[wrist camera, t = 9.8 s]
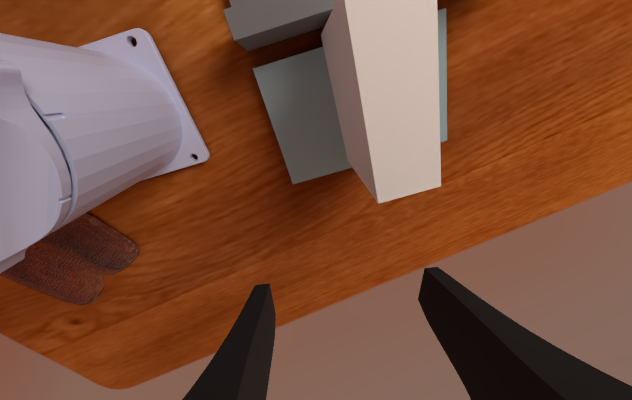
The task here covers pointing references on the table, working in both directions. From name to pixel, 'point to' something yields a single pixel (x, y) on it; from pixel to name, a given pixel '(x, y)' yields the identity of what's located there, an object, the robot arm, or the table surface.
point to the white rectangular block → (387, 92)
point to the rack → (274, 20)
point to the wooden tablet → (74, 260)
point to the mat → (319, 110)
